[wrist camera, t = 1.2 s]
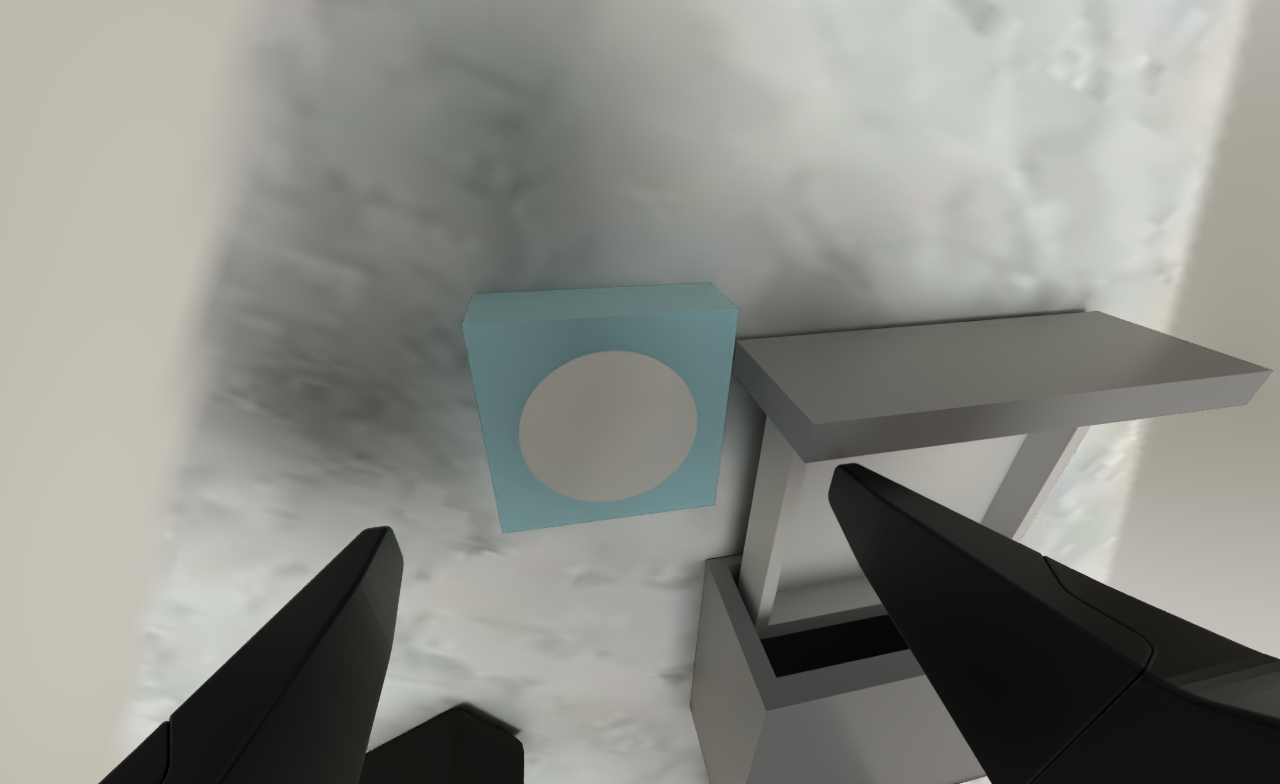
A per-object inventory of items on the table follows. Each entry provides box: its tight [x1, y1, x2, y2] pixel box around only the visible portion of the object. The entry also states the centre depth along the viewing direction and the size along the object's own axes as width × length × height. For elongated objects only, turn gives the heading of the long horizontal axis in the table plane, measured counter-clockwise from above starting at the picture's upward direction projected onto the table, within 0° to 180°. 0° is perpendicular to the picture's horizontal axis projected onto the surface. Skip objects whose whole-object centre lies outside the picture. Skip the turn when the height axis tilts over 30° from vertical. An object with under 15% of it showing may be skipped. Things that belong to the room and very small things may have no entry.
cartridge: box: [462, 282, 739, 533], centre depth 12 cm, size 6×6×2 cm
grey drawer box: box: [690, 554, 986, 784], centre depth 19 cm, size 11×12×5 cm
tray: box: [733, 311, 1273, 640], centre depth 15 cm, size 11×12×4 cm
